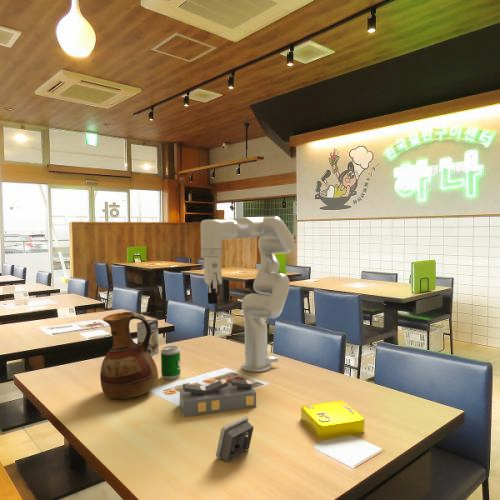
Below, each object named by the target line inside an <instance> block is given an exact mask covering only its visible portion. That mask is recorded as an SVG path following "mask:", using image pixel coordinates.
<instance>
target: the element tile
mask: <svg viewBox="0 0 500 500" xmlns="http://www.w3.org/2000/svg"><path fill="white" fill-rule="evenodd" d="M300 413H301V414H300V421H302V423H303V424H304V425H305V426H306V427H307V428H308V429H309V431H311V432H312V434H313V435H314V436H315V437H316V438H317V439H320V440H330V439H331V440H332V439H335V438H342V437H347V436H354V435H360V434H363V433H365V417H364V416H362V415H361V414H360V413H359V412H358V411H357V410H356V409H355V408H353V407H351V406H350V405H349V404H348V403H346V402H345V401H344V400H333V401H326V402H318V403H312V404H304V405H302V406H301V407H300Z"/></svg>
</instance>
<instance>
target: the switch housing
mask: <svg viewBox="0 0 500 500" xmlns="http://www.w3.org/2000/svg"><path fill="white" fill-rule="evenodd" d="M227 384H228V386H227V387H225V388H222V389H220V390H217V391H215V392H213V393H210V394H208V392H207V391H206V393H205V394H198V393H191V392H184V389H179V406H180V408H181V412H182V416H183V418H187V417H193V416H200V415H201V416H202V415H206V414H207V415H208V414H215V413H221V412H229V411H235V410H236V411H237V410H243V409H250V408H256V407H257V392H256V390H255V389H254V387H252V388H246V387H237V386H232V385H231V383H227ZM205 389H206V388H205Z"/></svg>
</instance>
